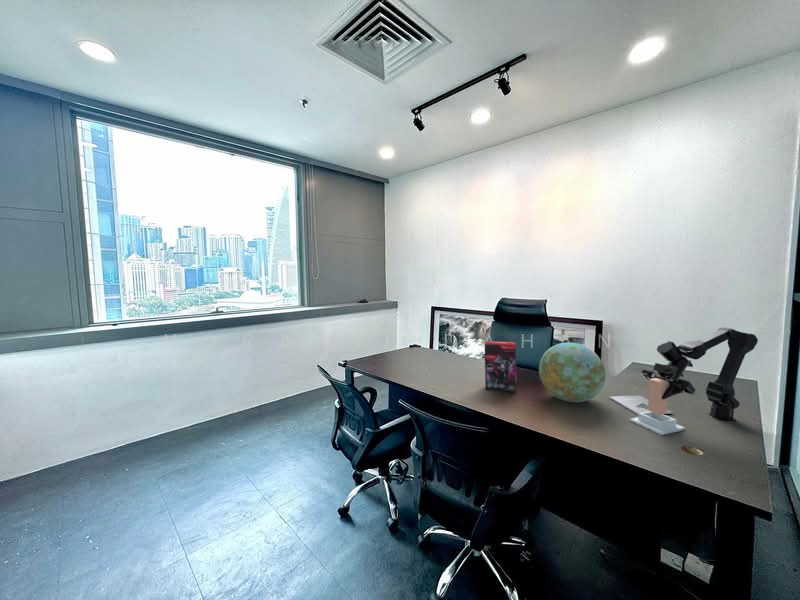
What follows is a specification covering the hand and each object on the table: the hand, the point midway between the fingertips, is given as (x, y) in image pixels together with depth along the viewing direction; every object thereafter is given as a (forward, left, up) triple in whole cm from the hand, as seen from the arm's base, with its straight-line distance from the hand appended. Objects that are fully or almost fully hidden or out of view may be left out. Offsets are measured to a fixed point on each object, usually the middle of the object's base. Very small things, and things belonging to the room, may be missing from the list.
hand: (655, 396), depth 136 cm
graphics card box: (+58, -39, -13) cm, 71 cm away
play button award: (-5, -21, -14) cm, 25 cm away
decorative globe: (+25, -26, -13) cm, 38 cm away
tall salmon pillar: (-1, -1, -7) cm, 7 cm away
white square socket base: (-1, -1, -13) cm, 13 cm away
